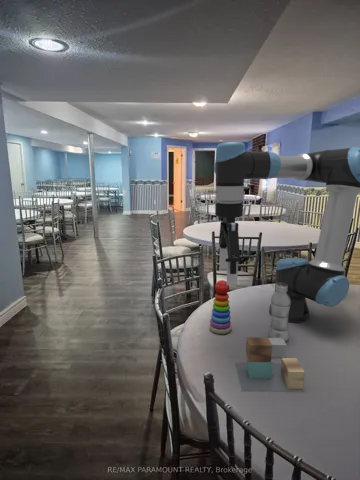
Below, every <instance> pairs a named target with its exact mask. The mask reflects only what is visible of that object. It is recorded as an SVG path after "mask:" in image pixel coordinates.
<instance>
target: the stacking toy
mask: <svg viewBox="0 0 360 480" xmlns="http://www.w3.org/2000/svg"><path fill="white" fill-rule="evenodd" d="M214 289H215V294H214V299H213V304H212V308H213V309H212V311H211V313H212V314H211V316H210V317H211V319H210V321H209V330H210V331H211V332H213V333H214V334H218V335H226V334H229V333H231V331H232V325H231V324H232V322H231V318H232V317H231V310H230V309H231V306H230V305H229V304H230V300H229V298H230V296H229V294H228V292H229V290H230V285H227V280H226V281H225V280H219V281H216V283H215V285H214Z"/></svg>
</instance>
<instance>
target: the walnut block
mask: <svg viewBox="0 0 360 480" xmlns="http://www.w3.org/2000/svg"><path fill="white" fill-rule="evenodd" d="M269 338H270V337H261V336H260V337H259V336H257V337H256V336H255V337H253V336H252V337H251V336H250V337H246V339H245V340H246V341H245V342H246V343H245V354H246V355H245V356H246V359H247V358H248V361H249V362H271V360H272V357H271V355H272V344H271V342H270V340H269Z"/></svg>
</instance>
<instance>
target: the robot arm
mask: <svg viewBox="0 0 360 480" xmlns="http://www.w3.org/2000/svg"><path fill="white" fill-rule="evenodd" d="M213 164H214V165H213V170H214V174H215V189H213V193H214V194H215V201H216V203H214V205H215V206H214V209H215V211H214V214H215V217H217V218H220V226H219V227H220V228H219V236H218V246H219V270H226V282H227V285H229V286H238V277H239V274H238V273H239V262H240V261H241V255H240V254H241V253H240V252H241V251H240V240H239V239H240V238H239V225H240V224H239V223H238V222H236V218H241V217H243V215H244V204H243V201H244V199H245V198H244V197H245V196H244V192H245V180H268V179H269V180H270V179H286V178H287V179H291V178H292V179H295V180H297V181H307V182H314V183H323V184H325V188H326V189H327V191H328V195H327V200H326V205H325V209H324V213H323V219H322V223H321V226H320V227H321V228H320V231H319V237H318V242H317V246H316V250H315V255H314V258H313V259H312V260H310V261H309V259H306V258H301V257H300V258H299V257H287V258H285V257H284V258H281V259H279V260H277V263H276V268H275V282H274V283H275V284H274V285H275V286H274V287H275V288H274V293H275V292H276V284H277V283H284V284H287V285H288V291H287V293H288V295H289V297H290V299H291V305H290V309H289V315H288V323H295V324H296V323H301V322H302V323H304V322H306V321H308V319H309V317H310V310H309V307H308V303H307V299H308V300H310V301H313V302H315V303H317V304H319V305H323V306H326V307H335V306H337V305H339V304H340V303H342V301H344V299H346V296H347V294H348V292H349V290H350V289H349V288H350V280H349V278H348V277H346V276H345V272H346V269H345V268H344V266H343V261H342V258H343V259H344V256H343V254H345V249H346V245H347V240H348V236H349V232H350V227H351V223H352V219H353V214H354V210H355V206H356V201H357V198H358V195H360V147H355V146H352V147H346V148H339V149H338V148H337V149H326V150H320V151H315V152H308V153H305V152H304V153H299V154H296V155H279V154H277V153H276V152H274V151H273V152H271V151H268V150H267V151H248V150H246V145H245V143H244V142H240V141H228V142H220V143H219V144H217V146H216V151H215V160H214V163H213ZM341 263H342V265H341ZM268 309H269V310H268V311H269V314H270V316H272V309H271V303H270V305H269V308H268Z"/></svg>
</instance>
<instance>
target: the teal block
mask: <svg viewBox="0 0 360 480" xmlns="http://www.w3.org/2000/svg"><path fill="white" fill-rule="evenodd" d="M246 359H247V360H246V363H247V371H248V375H249V378H264V379H272V365H273V363H274V362H273V360H272V359H271V362H249V361H248V358H247V357H246Z"/></svg>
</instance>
